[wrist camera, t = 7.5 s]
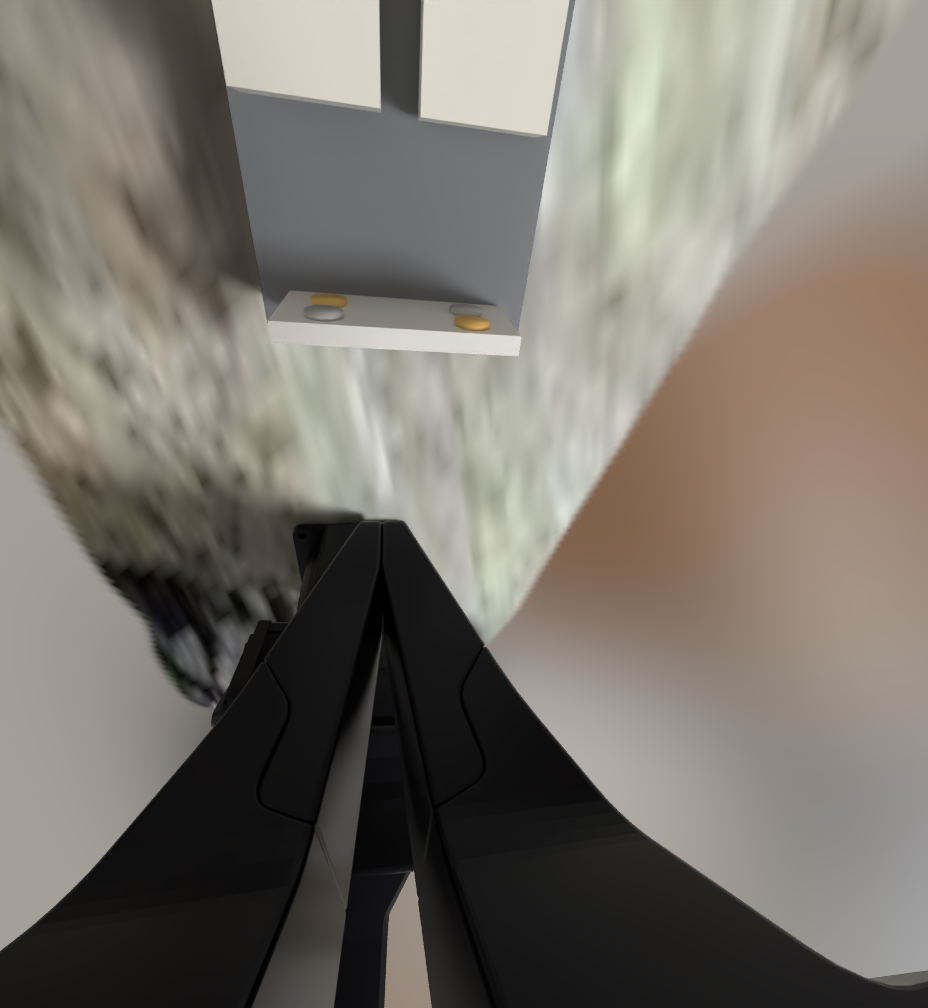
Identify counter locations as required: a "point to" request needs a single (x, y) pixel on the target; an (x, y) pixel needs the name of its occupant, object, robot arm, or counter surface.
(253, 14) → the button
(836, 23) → the counter surface
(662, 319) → the counter surface
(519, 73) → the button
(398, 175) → the button board
